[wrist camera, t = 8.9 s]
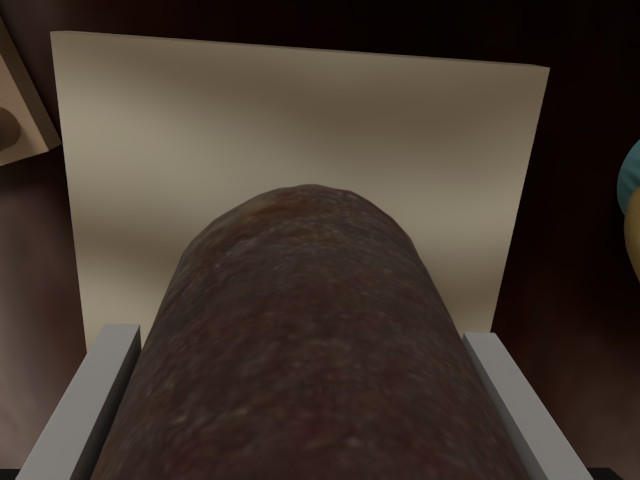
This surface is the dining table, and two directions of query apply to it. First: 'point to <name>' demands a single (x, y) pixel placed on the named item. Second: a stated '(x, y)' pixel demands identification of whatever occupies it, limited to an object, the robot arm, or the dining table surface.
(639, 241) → the cupcake
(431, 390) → the brown wooden log
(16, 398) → the dining table surface
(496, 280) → the small wooden stool
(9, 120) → the upturned stool decor
